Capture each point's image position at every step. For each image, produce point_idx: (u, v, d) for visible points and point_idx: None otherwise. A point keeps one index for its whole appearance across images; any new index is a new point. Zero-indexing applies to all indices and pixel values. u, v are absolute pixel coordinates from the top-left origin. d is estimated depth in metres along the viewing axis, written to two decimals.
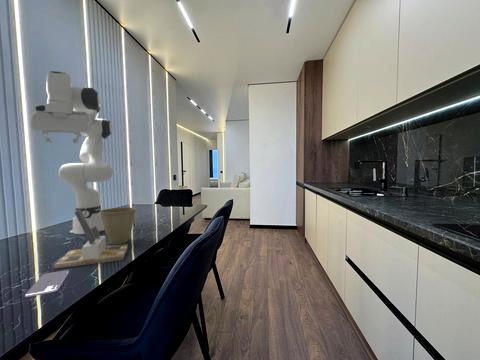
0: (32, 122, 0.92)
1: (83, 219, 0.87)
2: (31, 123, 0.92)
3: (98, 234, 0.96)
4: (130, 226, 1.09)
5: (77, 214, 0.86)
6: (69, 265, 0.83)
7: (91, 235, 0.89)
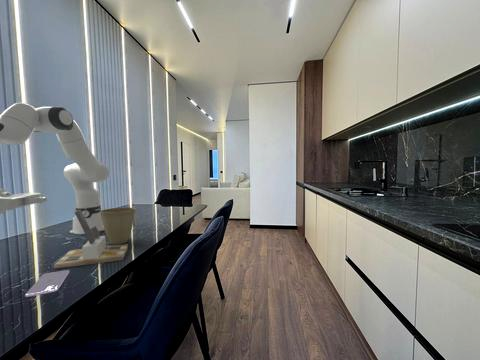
0: (1, 197, 0.72)
1: (83, 219, 0.87)
2: (2, 198, 0.72)
3: (98, 234, 0.96)
4: (130, 226, 1.09)
5: (77, 214, 0.86)
6: (69, 265, 0.83)
7: (91, 235, 0.89)
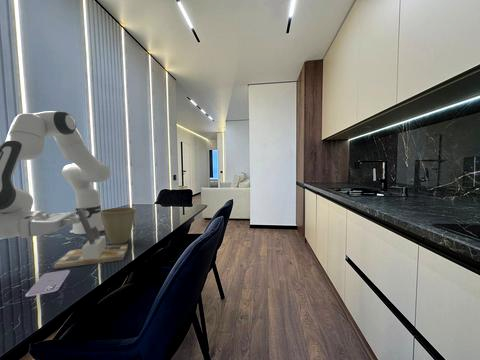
0: (43, 221, 0.76)
1: (85, 218, 0.88)
2: (44, 221, 0.75)
3: (98, 234, 0.96)
4: (130, 226, 1.09)
5: (79, 213, 0.86)
6: (69, 265, 0.83)
7: (91, 235, 0.89)
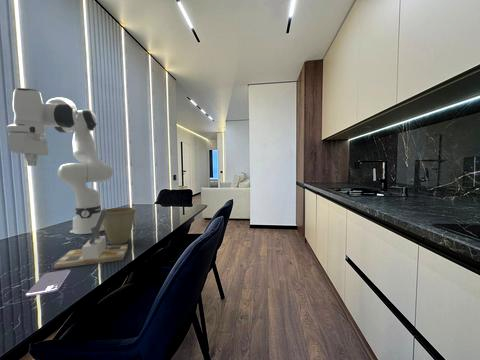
0: (24, 144, 0.81)
1: (102, 219, 0.89)
2: (23, 145, 0.81)
3: (98, 234, 0.96)
4: (130, 226, 1.09)
5: (102, 213, 0.88)
6: (69, 265, 0.83)
7: (96, 236, 0.89)
